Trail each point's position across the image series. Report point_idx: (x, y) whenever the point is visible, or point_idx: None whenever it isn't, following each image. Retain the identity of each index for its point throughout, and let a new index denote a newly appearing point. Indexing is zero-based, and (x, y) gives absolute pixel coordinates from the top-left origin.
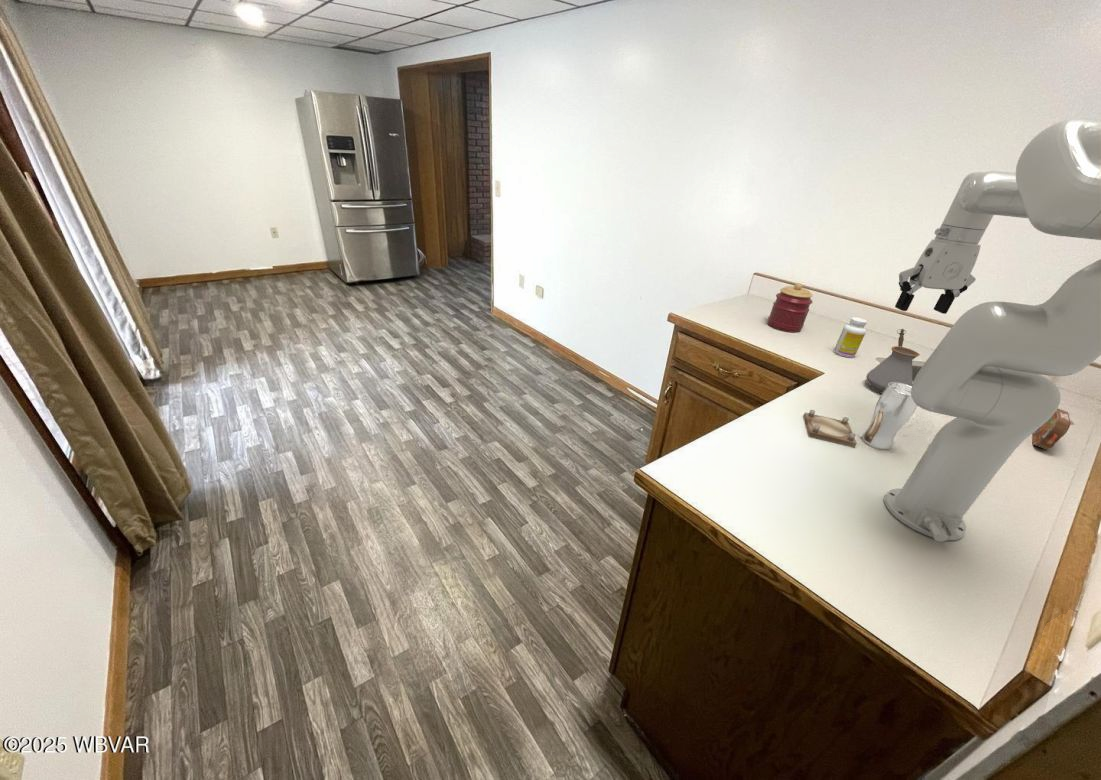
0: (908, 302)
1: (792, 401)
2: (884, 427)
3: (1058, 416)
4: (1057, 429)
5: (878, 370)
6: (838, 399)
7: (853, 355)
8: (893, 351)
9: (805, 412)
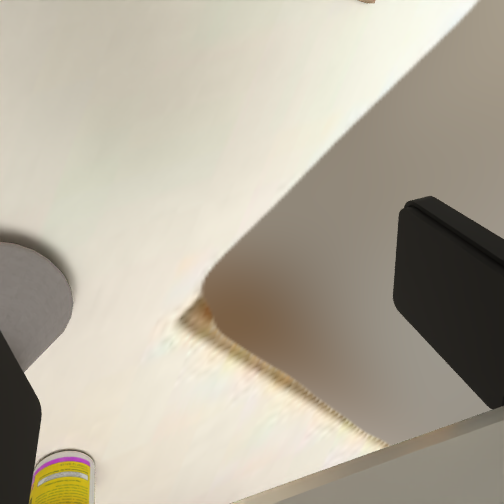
0: (491, 234)
1: (355, 99)
2: None
3: None
4: None
5: (52, 316)
6: (201, 158)
7: (45, 461)
8: None
9: (372, 2)
